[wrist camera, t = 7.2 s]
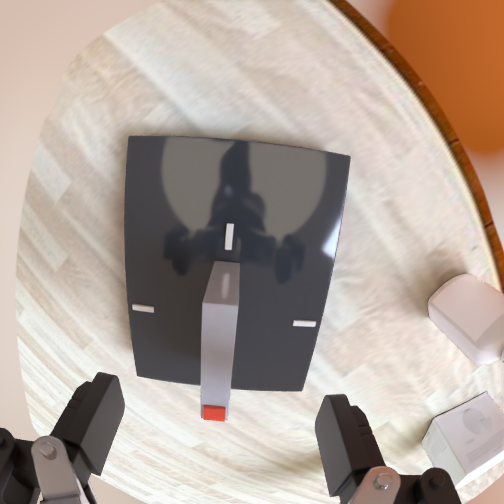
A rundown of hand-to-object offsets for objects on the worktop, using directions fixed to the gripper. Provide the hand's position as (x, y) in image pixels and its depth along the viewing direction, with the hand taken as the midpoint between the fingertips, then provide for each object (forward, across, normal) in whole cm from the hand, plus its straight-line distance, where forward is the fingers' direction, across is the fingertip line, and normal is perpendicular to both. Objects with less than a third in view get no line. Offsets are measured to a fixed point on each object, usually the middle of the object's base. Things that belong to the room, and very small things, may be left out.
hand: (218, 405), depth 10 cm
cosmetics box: (+10, -32, +19) cm, 38 cm away
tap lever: (+7, 0, 0) cm, 7 cm away
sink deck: (+10, 0, -2) cm, 10 cm away
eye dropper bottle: (+11, -19, 0) cm, 22 cm away
